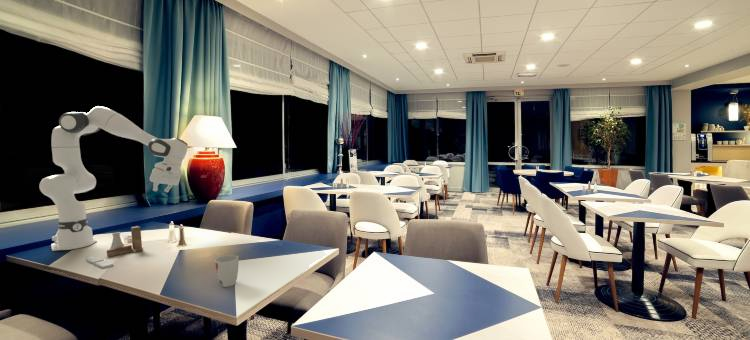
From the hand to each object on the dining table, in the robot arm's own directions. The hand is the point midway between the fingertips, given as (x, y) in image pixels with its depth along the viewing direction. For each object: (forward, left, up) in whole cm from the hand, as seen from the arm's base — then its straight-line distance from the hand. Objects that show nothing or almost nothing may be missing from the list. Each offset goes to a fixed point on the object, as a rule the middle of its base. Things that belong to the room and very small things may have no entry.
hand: (160, 191), depth 193 cm
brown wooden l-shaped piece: (-2, -21, -27) cm, 34 cm away
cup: (+84, -16, -28) cm, 90 cm away
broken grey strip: (+11, -33, -28) cm, 45 cm away
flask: (0, -22, -28) cm, 36 cm away
